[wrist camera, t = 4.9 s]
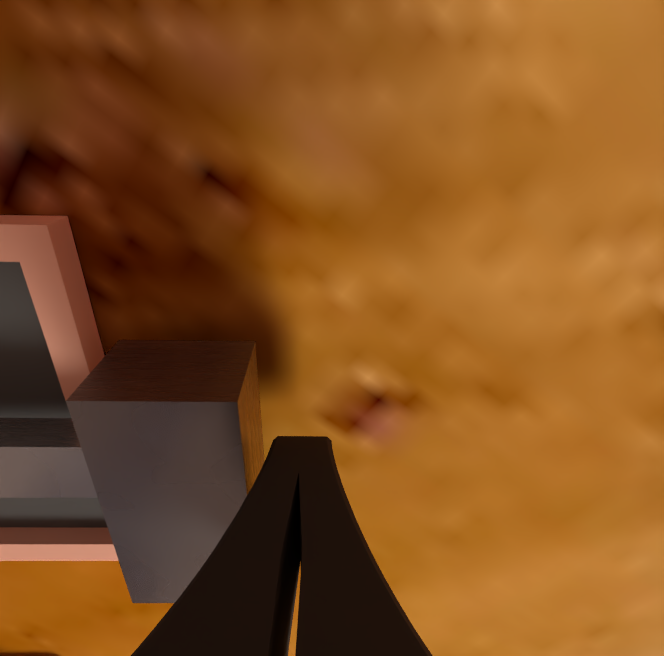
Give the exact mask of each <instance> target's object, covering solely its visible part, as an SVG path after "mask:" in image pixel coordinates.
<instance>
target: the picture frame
mask: <svg viewBox="0 0 664 656" xmlns="http://www.w3.org/2000/svg"><path fill="white" fill-rule="evenodd" d="M104 357H105V356H104V352H103V348H102V344H101V340H100V337H99V333H98V329H97V325H96V322H95V318H94V314H93V310H92V306H91V303H90V299H89V295H88V291H87V288H86V284H85V280H84V276H83V272H82V269H81V265H80V261H79V257H78V253H77V250H76V246H75V242H74V238H73V235H72V231H71V227H70V223H69V219H68V216H36V215H0V418H71V415H70V412H69V409H68V406H67V403H66V400H67V399H68V398H69V397H70V396H71V394H72V393H73V392H74V391H75V390H76V389H77V387H78V386H79V385H80V384H81V383H82V382H83V381H84V379H85V378H86V377H87V376H88V375H89V374H90V373H91V371H92V370H93V369H94V368H95V367H96V366H97V365H98V363H99V362H100V361H101V360H102V359H103V358H104ZM0 561H119V560H118V557H117V554H116V551H115V548H114V545H113V542H112V539H111V536H110V533H109V530H108V527H107V524H106V521H105V518H104V515H103V512H102V509H101V506H100V503H99V500H98V498H0Z"/></svg>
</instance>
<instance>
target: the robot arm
mask: <svg viewBox="0 0 664 656" xmlns="http://www.w3.org/2000/svg"><path fill="white" fill-rule="evenodd" d="M300 561H301V580H300V596H299V611H298V626H297V641H296V656H432V654H431V653H430V651H429V650H428V648H427V647H426V645H425V644H424V642H423V641H422V639H421V638H420V636H419V635H418V633H417V632H416V630H415V629H414V627H413V626H412V624H411V622H410V621H409V619H408V617H407V616H406V614H405V612H404V611H403V609H402V607H401V606H400V604H399V602H398V601H397V599H396V597H395V595H394V594H393V592H392V590H391V588H390V587H389V585H388V583H387V581H386V579H385V578H384V576H383V574H382V572H381V570H380V568H379V566H378V565H377V563H376V561H375V559H374V557H373V555H372V553H371V551H370V549H369V547H368V544H367V542H366V540H365V538H364V536H363V534H362V532H361V530H360V527H359V525H358V523H357V521H356V518H355V516H354V513H353V511H352V509H351V506H350V504H349V501H348V499H347V496H346V494H345V491H344V488H343V485H342V483H341V479H340V476H339V473H338V470H337V467H336V463H335V459H334V455H333V450H332V443H331V440H330V439H329V438H328V437H314V436H278V437H276V438H275V439H274V440H273V442H272V445H271V448H270V450H269V453H268V455H267V458H266V460H265V462H264V464H263V466H262V468H261V470H260V472H259V474H258V476H257V478H256V480H255V482H254V484H253V486H252V488H251V489H250V491H249V493H248V495H247V497H246V498H245V500H244V502H243V504H242V505H241V507H240V509H239V511H238V512H237V514H236V516H235V517H234V519H233V521H232V522H231V524H230V525H229V527H228V528H227V530H226V531H225V533H224V535H223V536H222V538H221V539H220V541H219V542H218V544H217V546H216V547H215V549H214V550H213V552H212V553H211V554H210V556H209V557H208V559H207V560H206V562H205V563H204V565H203V566H202V567H201V569H200V570H199V571H198V573H197V574H196V576H195V577H194V578H193V580H192V581H191V582H190V584H189V585H188V586H187V588H186V589H185V590H184V592H183V593H182V594H181V596H180V597H179V598H178V599H177V601H176V602H175V603H174V604H173V606H172V607H171V608H170V609H169V611H168V612H167V613H166V614H165V616H164V617H163V618H162V619H161V621H160V622H159V623H158V624H157V626H156V627H155V628H154V629H153V630H152V632H151V633H150V634H149V635H148V636H147V638H146V639H145V640H144V641H143V642H142V643H141V645H140V646H139V647H138V648H137V649H136V650H135V652H134V653H133V654H132V655H131V656H288V649H289V641H290V634H291V626H292V619H293V612H294V604H295V597H296V589H297V582H298V574H299V567H300Z"/></svg>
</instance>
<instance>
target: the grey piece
mask: <svg viewBox="0 0 664 656" xmlns="http://www.w3.org/2000/svg"><path fill="white" fill-rule="evenodd" d="M66 403H67V406H68V409H69V412H70V415H71V418H0V498H98V500H99V503H100V506H101V509H102V512H103V515H104V518H105V521H106V524H107V527H108V530H109V533H110V536H111V539H112V542H113V545H114V548H115V551H116V554H117V557H118V560H119V563H120V566H121V569H122V572H123V575H124V578H125V581H126V584H127V587H128V590H129V593H130V596H131V599H132V602H133V603H175V602H176V601H177V599H178V598H179V597H180V596H181V594H182V593H183V592H184V590H185V589H186V588H187V586H188V585H189V584H190V582H191V581H192V580H193V578H194V577H195V576H196V574H197V573H198V571H199V570H200V569H201V567H202V566H203V565H204V563H205V562H206V560H207V559H208V557H209V556H210V554H211V553H212V552H213V550H214V549H215V547H216V546H217V544H218V542H219V541H220V539H221V538H222V536H223V535H224V533H225V531H226V530H227V528H228V527H229V525H230V524H231V522H232V521H233V519H234V517H235V516H236V514H237V512H238V511H239V509H240V507H241V505H242V504H243V502H244V500H245V498H246V497H247V495H248V493H249V491H250V489H251V488H252V486H253V484H254V482H255V480H256V478H257V476H258V474H259V472H260V470H261V468H262V466H263V464H264V451H263V437H262V424H261V410H260V397H259V383H258V370H257V356H256V342H255V341H185V340H119V341H118V342H117V343H116V344H115V345H114V346H113V347H112V349H111V350H110V351H109V352H108V353H107V354H106V355H105V357H104V358H103V359H102V360H101V361H100V362H99V363H98V365H97V366H96V367H95V368H94V369H93V370H92V371H91V373H90V374H89V375H88V376H87V377H86V378H85V379H84V381H83V382H82V383H81V384H80V385H79V386H78V387H77V389H76V390H75V391H74V392H73V393H72V394H71V396H70V397H69V398H68V399H67V400H66Z"/></svg>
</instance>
